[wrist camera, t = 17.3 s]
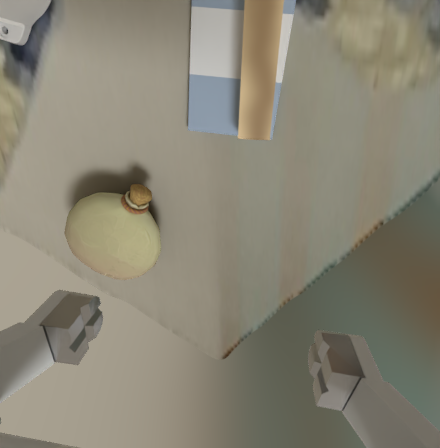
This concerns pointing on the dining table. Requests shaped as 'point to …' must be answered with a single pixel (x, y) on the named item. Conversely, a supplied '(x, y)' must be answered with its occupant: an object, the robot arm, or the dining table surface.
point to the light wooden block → (259, 67)
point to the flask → (115, 233)
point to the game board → (224, 64)
